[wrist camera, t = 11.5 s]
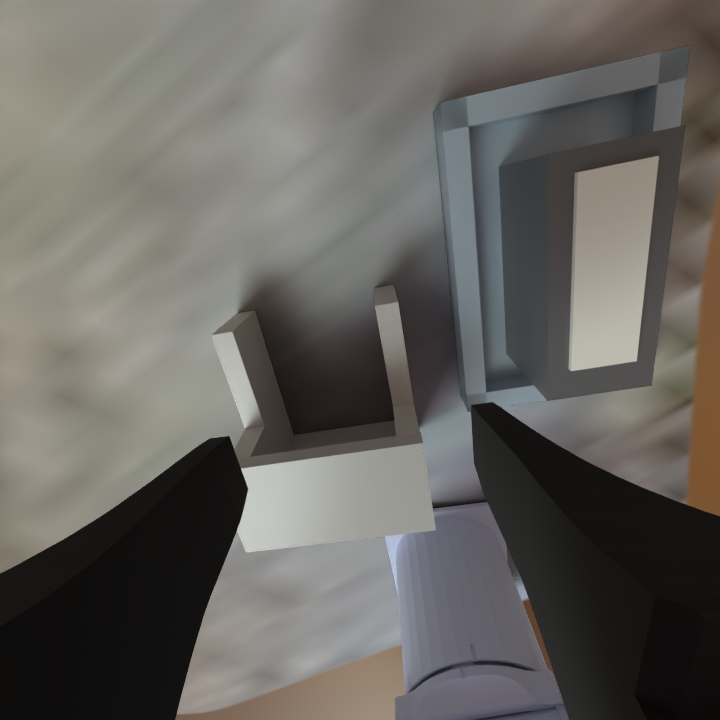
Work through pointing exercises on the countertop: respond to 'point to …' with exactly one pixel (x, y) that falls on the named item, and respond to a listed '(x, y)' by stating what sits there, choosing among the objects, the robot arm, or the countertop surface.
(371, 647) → the countertop surface
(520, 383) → the tray
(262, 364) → the bay
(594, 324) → the gray white block
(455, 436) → the countertop surface
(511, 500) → the robot arm
